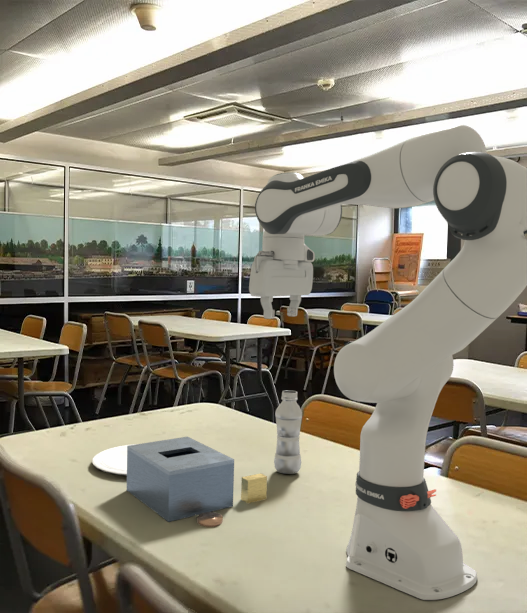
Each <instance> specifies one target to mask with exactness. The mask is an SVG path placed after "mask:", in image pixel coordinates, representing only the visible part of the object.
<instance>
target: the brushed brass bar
mask: <svg viewBox="0 0 527 613" xmlns="http://www.w3.org/2000/svg"><path fill="white" fill-rule="evenodd" d="M267 485H268V476H267V475H265V474H262V473H261V472H260V473H256V474H251V475H247V476H242V477H241V490H240V491H241V493H240V500H241V501H243V503H245V504H251V503H256V502H261V501H263V500H267V496H268V495H267V493H268V492H267V491H268V489H267V488H268V486H267Z"/></svg>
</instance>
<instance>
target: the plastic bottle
mask: <svg viewBox="0 0 527 613" xmlns="http://www.w3.org/2000/svg"><path fill="white" fill-rule="evenodd" d="M280 400H282V401H281V403H279V405H277V406H278V407H276V409H275V411H274V412H275V415H274V416H275V422H276V425H275V426H276V448H275V453H274V454H275V455H274V459H273V463H274V464H273V465H274V469H275V471H276V472H277V473H280V474H285V475H286V474H287V475H292V474H293V475H294V474H297V473H299V471H300V470H301V468H302V457H301V453H300V452H301V450H300V449H301V447H300V433H301V424H302V420H303V419H302V418H303V411H302V409H301V407H300V405H299V403H297V401H298V400H299V399H298V391H296V390H282V392H281V398H280Z"/></svg>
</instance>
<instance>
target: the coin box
mask: <svg viewBox="0 0 527 613" xmlns="http://www.w3.org/2000/svg"><path fill="white" fill-rule="evenodd" d="M135 444H136V445H131V444H128V445H129V446H127V476H126V491H127V492H128V493H130V494H131V495H132V496H134V497H135V498H136V499H137V500H139V501H140V502H142V503H143V504H144V505H145V506H147V507H148V508H149V509H151V510H152V511H153V512H154V513H156V514H157V515H158V516H160V517H161V518H162V519H164V520H165V521H166V522H167V523H170V522H173V521H179V520H181V519H187V518H190V517H194V516H195V517H196V516H198V515H199V514H201V513H205V512H217V511H220V510H224V509H229V508H232V507H234V489H235V488H234V483H235V482H234V481H235V480H234V479H235V459H234V458H233V457H230V456H228V455H227V454H224V453H222V452H220V451H218V450H216V449H214V448H212V447H209V446H208V445H206V444H204V443H201V442H200V441H198V440H196V439H193V438H192V437H189V436H182V437H175V438H170V439H169V438H168V439H162V440H157V441H156V440H155V441H149V442H144V443H143V442H142V443H135Z"/></svg>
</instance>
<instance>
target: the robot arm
mask: <svg viewBox="0 0 527 613" xmlns="http://www.w3.org/2000/svg"><path fill="white" fill-rule="evenodd" d="M430 202H434V203H435V205H436V206H435V207H436V208H437V209H438V212H439V213H440V215H441V217H443V219H444V220H445V221H446V223H447V225H448V227H449V228H448V229H449V230H450V233H451V235H453V236H454V238H456V239H459V240H462V241H464V242H463V245H462V248H461V249H460V250H459V252H458V253H457V254H456V256H455V257H454V258H453V259H452V260H451V261H450V262H449V263H448V264H447V265H446V266H445V267H444V268H443V269H442V270H441V271H440V272H439V273H438V274H437V275H436V276H435V277H434V278H433V279H432V280H431V282H429V284H427V285H426V287H424V288H423V290H422V291H421V292H420V293H419V294H418V295H417V296H416V297H415V298H414V299H412V301H410V302H409V303H408V304H406V305H405V306H404V307H403V308H402V309H400V310H399V311H397V312H396V313H394V314H393V315H392V316H390V317H389V318H387V319H386V320H384V321H382V322H381V323H380V324H379V325H378V326H376V327H374V329H372V330H371V331H369V332H368V333H366V334H365V335H362V336H361V337H359V338H358V339H356V340H353V341H352V342H350V343H348V344H346V345H345V346H343V347H342V348H340V350H339V351H338V352H337V354H336V357H335V359H334V364H333V375H334V379H335V383H336V385H337V387H338V390H340V392H341V393H342V394H343V396H345V397H346V398H348V399H349V400H351V401H354V402H355V401H356V402H361V403H369V404H371V403H372V404H376V405H375V408H374V410H373V412H372V414H371V416H370V418H368V419H367V421H366V422H365V423H364V425H363V426H362V428H361V432H360V440H359V442H360V443H359V444H360V445H359V466H358V468H359V470H358V471H357V473H356V479H355V495H356V496H357V501H356V506H355V507H356V508H355V513H354V516H353V517H354V518H353V523H352V528H351V529H352V530H351V535H350V538H349V541H348V544H347V545H346V546H347V547H346V554H347V558H346V564H345V566H346V567H347V569H349V570H352V571H354V572H356V573H359V574H361V575H364V576H366V577H368V578H370V579H373V580H375V581H378V582H379V583H382V584H383V585H384V584H385V585H386V586H389V587H392V588H393V589H396V590H398V591H401V592H403V593H405V594H407V595H410V596H412V597H415V598H417V599H420V600H422V601H423V600H424V601H436V600H442V599H447V598H450V597H455V596H456V595H459V594H461V593H463V592H465V591H467V590H469V589H470V588H472V587H473V586H474V585H475V584H476V582H477V580H478V572H477V570H475V569H474V568H473V567H471V566H469V565H468V564H467V563H465V562H464V556H463V547H462V543H461V540H460V538H459V536H458V535H457V534H456V533H455V531H453V529H451V527H450V526H449V524H447V522H446V521H445V520H444V519H443V517H442V516H441V515H440V514H439V512H438V511H437V510H436V509H435V508H434V506H433V505H432V504H431V503H432V499H431V498H433V497H437V494H434V493H436V492H437V489H432V490H431V489H430V490H429V488H428V484H427V481H426V479H425V477H424V475H425V474H424V472H425V456H426V445H427V444H426V443H427V442H426V441H427V436H428V430H429V426H430V422H431V419H432V415H433V412H434V409H435V407H436V403H437V401H438V398H439V396H440V393H441V391H442V390H443V388H444V386H445V385H446V383H447V382H448V381H449V380H450V378H451V376H452V375H453V371H454V366H455V365H454V364H455V363H454V357H453V355H455V354H457V353H459V352H461V351H463V350H464V349H465V348H467V347H468V345H469V344H471V343H472V342H473V341H474V340H475V339H477V338H478V336H480V334H482V333H483V332H484V331H485V330H486V329H487V328H488V327H489V326H490V325H492V324H493V323H494V322H495V321H496V320H497V319H498V318H499V317H500V316H501V315H503V313H505V311H506V310H508V308H509V307H510V306H512V304H513V303H514V302H515V300H517V299H518V297H519V296H520V295H521V294H522V293H523V291H524V290H525V289H526V287H527V238H526V236H525V235H527V167H526V166H524V165H522V164H520V163H519V162H517V161H516V160H513V159H510V158H506V157H503V156H499V155H498V156H497V155H492V154H490V153H487V148H486V145H485V142H484V140H483V138H482V137H481V134H479V133H478V132H477V131H476V130H475V129H474V128H473V127H470V126H468V125H465V124H454V125H450V126H445V127H440V128H436V129H433V130H430V131H426V132H424V133H421V134H418V135H415V136H413V137H411V138H407V139H406V140H403V141H401V142H399V143H397V144H394V145H392V146H390V147H388V148H385V149H383V150H380V151H377V152H375V153H372V154H370V155H367V156H364V157H361V158H358V159H356V160H353V161H351V162H348V163H344V164H341V165H339V166H335V167H332V168H328V169H325V170H323V171H320V172H317V173H314V174H312V175H308V176H306V177H304V176H303V175H302V174H300V173H297V172H282V173H281V172H280V173H277V174H274V175H273V176H271V177H270V178H269V179H268V180H267V183H266V185H265V186H264V187H263V188H262V189H261V191H260V192H259V194H258V195H257V197H256V200H255V203H254V204H255V205H254V210H255V215H256V218H257V221H258V222H259V225H261V227H262V228H263V230H264V231H263V233H262V246H261V247H262V250H259V251H258V253H256V255H255V256H254V259H253V262H252V265H251V269H250V276H249V284H248V285H249V286H248V291H249V294H250V296H252V297H260V305H261V307H262V310H263V318H264V319H265V320H266V319H268V320H271V319H274V318H275V312H276V311H275V309H273V305H272V302H273V301H274V300H273V299H274V297H287V296H289V300H290V303H289V307H287V308H286V310H287V311H286V312H287V313H286V315H287V316H288V317H297V316H298V310H299V306H300V305H301V302H302V296H309V295H310V294H311V292H312V289H313V281H314V266H313V262H314V261H315V259H316V255H315V252H314V251H313V249H310V248H309V247H308V245H307V244H305V236H311V237H312V236H314V237H323V236H328V235H331V234H332V233H334V232H335V231H336V230H337V228H338V227H339V226H340V224H341V220H342V217H343V216H342V215H343V207H342V205H358V206H359V205H360V206H369V207H377V208H385V209H386V208H387V209H404V208H411V207H416V206H417V207H418V206H421V205H425V204H427V203H430Z"/></svg>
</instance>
